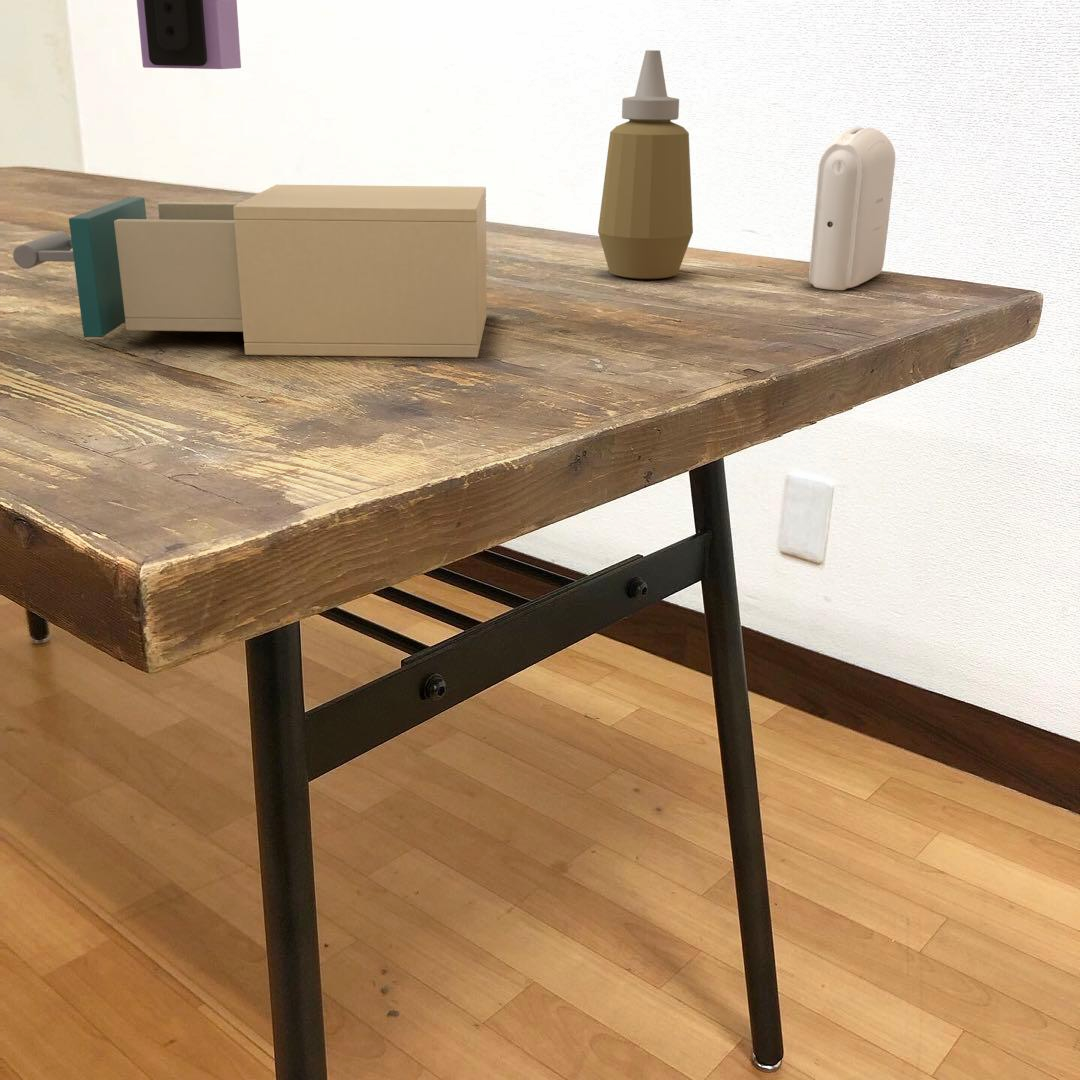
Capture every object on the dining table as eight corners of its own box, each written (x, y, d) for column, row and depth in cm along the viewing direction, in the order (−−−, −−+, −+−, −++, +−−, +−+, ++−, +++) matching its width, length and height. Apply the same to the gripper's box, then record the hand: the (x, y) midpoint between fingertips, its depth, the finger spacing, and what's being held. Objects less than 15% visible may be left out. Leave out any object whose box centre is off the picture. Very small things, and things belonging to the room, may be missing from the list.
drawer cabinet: (244, 355, 77) (232, 205, 74) (284, 315, 89) (275, 184, 86) (477, 357, 77) (476, 208, 74) (486, 317, 89) (485, 186, 86)
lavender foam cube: (142, 67, 71) (134, -16, 70) (166, 66, 76) (159, -12, 74) (221, 69, 71) (215, -14, 70) (241, 68, 76) (236, -11, 74)
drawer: (7, 336, 78) (-11, 217, 75) (72, 301, 88) (58, 196, 85) (298, 339, 77) (290, 220, 75) (327, 304, 88) (322, 199, 85)
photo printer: (852, 293, 99) (869, 131, 95) (801, 287, 101) (815, 129, 97) (888, 275, 108) (905, 125, 103) (840, 270, 110) (855, 123, 105)
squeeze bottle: (621, 285, 101) (629, 50, 95) (581, 270, 108) (586, 49, 102) (707, 280, 104) (721, 51, 98) (663, 265, 111) (673, 50, 105)
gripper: (145, -261, 75) (172, 62, 81) (30, -344, 59) (76, 65, 66) (268, -259, 75) (285, 64, 81) (186, -341, 59) (216, 68, 66)
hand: (191, 61), depth 73 cm, fingers closed on lavender foam cube, 4 cm apart
